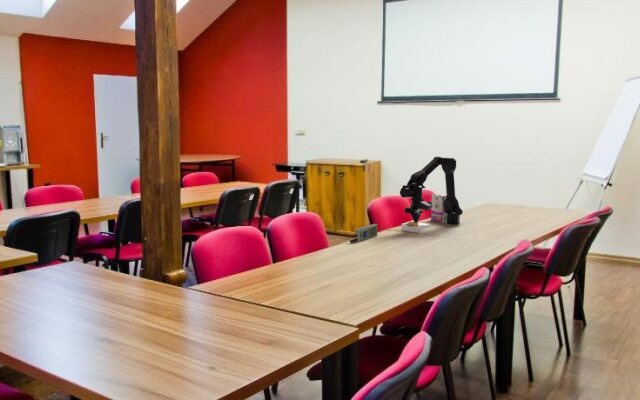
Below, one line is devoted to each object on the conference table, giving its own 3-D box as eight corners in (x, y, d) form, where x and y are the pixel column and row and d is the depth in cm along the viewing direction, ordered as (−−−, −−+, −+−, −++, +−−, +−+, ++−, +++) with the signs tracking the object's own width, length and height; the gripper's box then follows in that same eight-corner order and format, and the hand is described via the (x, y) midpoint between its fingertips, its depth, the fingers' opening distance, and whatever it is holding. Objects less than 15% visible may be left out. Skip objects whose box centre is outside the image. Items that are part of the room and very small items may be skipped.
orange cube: (418, 222, 330) (415, 223, 327) (417, 230, 330) (414, 231, 327) (410, 221, 332) (407, 222, 329) (410, 229, 333) (407, 230, 330)
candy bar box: (448, 222, 354) (449, 195, 352) (441, 223, 352) (442, 196, 350) (437, 220, 364) (437, 193, 362) (430, 220, 362) (431, 194, 360)
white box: (431, 227, 338) (431, 221, 337) (417, 232, 324) (417, 226, 323) (415, 225, 344) (415, 219, 343) (401, 230, 330) (401, 224, 329)
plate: (435, 225, 345) (435, 224, 345) (430, 227, 340) (430, 226, 339) (424, 224, 349) (424, 223, 349) (419, 225, 344) (419, 225, 344)
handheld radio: (378, 236, 313) (353, 244, 293) (373, 236, 315) (348, 243, 295) (378, 224, 313) (353, 231, 292) (372, 223, 314) (347, 230, 294)
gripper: (422, 199, 318) (421, 227, 321) (437, 196, 333) (436, 223, 335) (404, 197, 325) (403, 225, 327) (419, 194, 340) (418, 221, 342)
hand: (416, 223), depth 333 cm, fingers closed
